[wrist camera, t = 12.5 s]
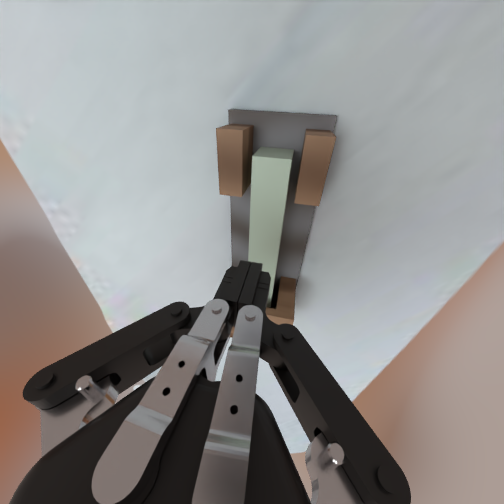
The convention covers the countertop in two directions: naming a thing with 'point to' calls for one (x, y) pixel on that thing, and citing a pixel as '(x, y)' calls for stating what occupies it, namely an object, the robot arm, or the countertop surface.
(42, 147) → the countertop surface
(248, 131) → the holder
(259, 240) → the slat
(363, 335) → the countertop surface
